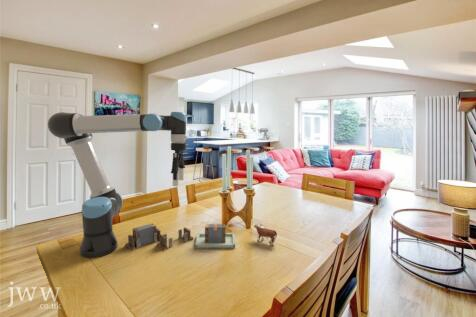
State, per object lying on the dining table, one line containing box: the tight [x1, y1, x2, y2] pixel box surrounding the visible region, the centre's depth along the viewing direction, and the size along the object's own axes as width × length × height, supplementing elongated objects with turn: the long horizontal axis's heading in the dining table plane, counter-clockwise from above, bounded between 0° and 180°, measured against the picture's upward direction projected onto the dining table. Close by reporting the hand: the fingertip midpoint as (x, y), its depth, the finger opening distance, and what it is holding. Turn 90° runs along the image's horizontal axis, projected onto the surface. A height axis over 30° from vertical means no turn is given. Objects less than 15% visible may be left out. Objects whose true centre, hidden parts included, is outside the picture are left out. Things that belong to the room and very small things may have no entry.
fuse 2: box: [204, 223, 227, 243], centre depth 124 cm, size 10×4×8 cm, turn 93°
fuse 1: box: [132, 222, 157, 248], centre depth 122 cm, size 10×4×8 cm, turn 133°
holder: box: [124, 227, 161, 251], centre depth 122 cm, size 16×6×5 cm, turn 133°
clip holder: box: [156, 227, 194, 251], centre depth 123 cm, size 16×6×5 cm, turn 133°
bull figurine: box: [253, 222, 278, 246], centre depth 125 cm, size 4×13×8 cm, turn 51°
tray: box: [194, 232, 236, 250], centre depth 124 cm, size 19×13×2 cm
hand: (178, 183), depth 130 cm, fingers open, 13 cm apart
